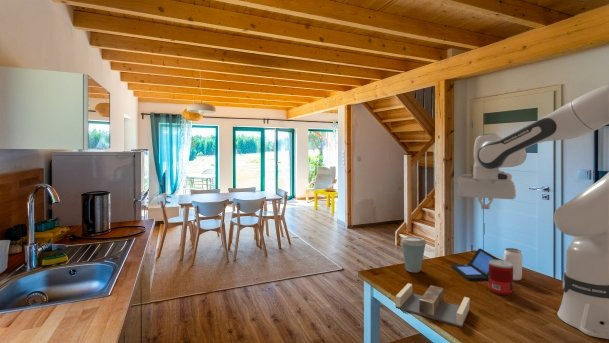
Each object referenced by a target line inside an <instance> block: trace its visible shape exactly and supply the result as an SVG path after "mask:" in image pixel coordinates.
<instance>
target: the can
mask: <svg viewBox="0 0 609 343" xmlns="http://www.w3.org/2000/svg"><path fill="white" fill-rule="evenodd" d="M503 261H507V262H510V263H512V264H513V281H521V280H522V276H523V253H522V250H520V249H518V248H515V247H514V248H513V247H507V248H505V250H504V252H503Z"/></svg>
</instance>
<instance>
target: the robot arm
mask: <svg viewBox="0 0 609 343" xmlns="http://www.w3.org/2000/svg"><path fill="white" fill-rule="evenodd" d="M607 125H609V84H605V85H603V86H600V87H598V88H595V89H593V90H590V91H588V92H586V93H583V94H582V95H580V96H578V97H576V98H575V99H573V100H570V101H569V102H567V103H565V104H564V105H562V106H561V107H558V108H557V109H556V110H554V111H552V112H551V113H549V114H547V115H545V116H543V117H541V118H539V119H537V120H536V121H534V122H532V123H530V124H528V125H526V126H523V127H522V128H520V129H518V130H516V131H514V132H512V133H510V134H508V135H506V136H504V137H501V136H500V135H498V134H496V133H487V134H481V135H479V136H477V137H476V138H475V140H474V145H473V159H474V163H473V172H472V173H473V174H470V173H469V174H464V173H463V174H460V175H459V176H457V184H458V185H457V186H458V187H457V195H458V196H459V197H465V198H477V201H478V202H479V205H480V209H481V210H490V209H491V204H492V203H493V201H494V199H501V200H514V199H515V198H516V196H517V195H516V194H517V193H516V186H515V183H514V181H513V180H512V179H513V175H512V174H511V173H509V172H505V171H501V170H500V168H514V167H517V166H521V164H523V163H525V160H526V158H527V150H526V149H527V148H529V147H532V146H533V145H536V144H541V143H544V142H545V143H546V142H552V141H563V140H571V139H577V138H580V137H583V136H585V135H588V134H590V133H592V132H595V131H596V130H599V129H601V128H603V127H606V126H607ZM484 199H488V201H489V202H488V204H487V203H483V200H484ZM552 219H553V223H554V225H555V227H556V228H557V230H558V231H560V232H561V233H563V234H564V235H567V236H570V237H573V238H572V241H571V243H570V244H569V246H568V247H567V249H566V254H565V272H564V273H563V277H562V290H563V295H562V300H561V303H560V306H559V309H558V311H557V317H558V318H559V319H560V320H561V321H563V323H564V322H565V323H566V324H567V325H570V326H571V327H573V328H576V329H578V331H579V330H580V331H581V332H582V333H584V334H585V335H587V336H590V337H594V338H595V337H596V338H601V339H606V340H609V171H608V172H607V173H606V174H605V175H603V177H601V178H600V179H598V180H597V181H595V183H593V184H592V185H590V186H588V187H587V188H585V189H584V190H582V191H581V192H580V193H578V194H577V195H575V196H574V197H573V198H572V199H570V200H569V201H568V202H566V203H564V204H562V205H561V206H559V207H557V208H556V210H555V211H554V213H553V218H552Z"/></svg>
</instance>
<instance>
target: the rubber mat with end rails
mask: <svg viewBox="0 0 609 343" xmlns="http://www.w3.org/2000/svg"><path fill="white" fill-rule="evenodd" d="M422 296H423V295H421V294H416V293H413V283H409V282H408V283H406V285H405V286H404V287H403V288H401V290H400V291H398V293H397V294H396V295H395V309H399V310H402V311H404V312H409V313H412V314H415V315H419V316H421V317H426V318H429V319H432V320H435V321H439V322H442V323H445V324H447V325H452V326H455V327H459V328H463V325H464V323H465V321H466V319H467V317H468V314H469V312H470V299H471V298H470V297H466V296H464V297H463V299H462V301H461V303H460V305H457V304H454V303H450V302H447V301H443V300H442V302H441V304H440V305H439V307H438V308H437V310H436V311H435V313H434V315H429V314H426V313H423V312H419V299H421V297H422Z"/></svg>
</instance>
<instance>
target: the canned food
mask: <svg viewBox="0 0 609 343" xmlns="http://www.w3.org/2000/svg"><path fill="white" fill-rule="evenodd" d="M487 281H488V283H487V287H488V289H489V291H490V292H493V293H495V294H498V295H503V296H508V295H511V294H512V293H513V289H514V288H513V286H514V280H513V264H512V263H510V262H507V261H504V259H503V260H502V259H499V260H490V261H489V275H488V280H487Z"/></svg>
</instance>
